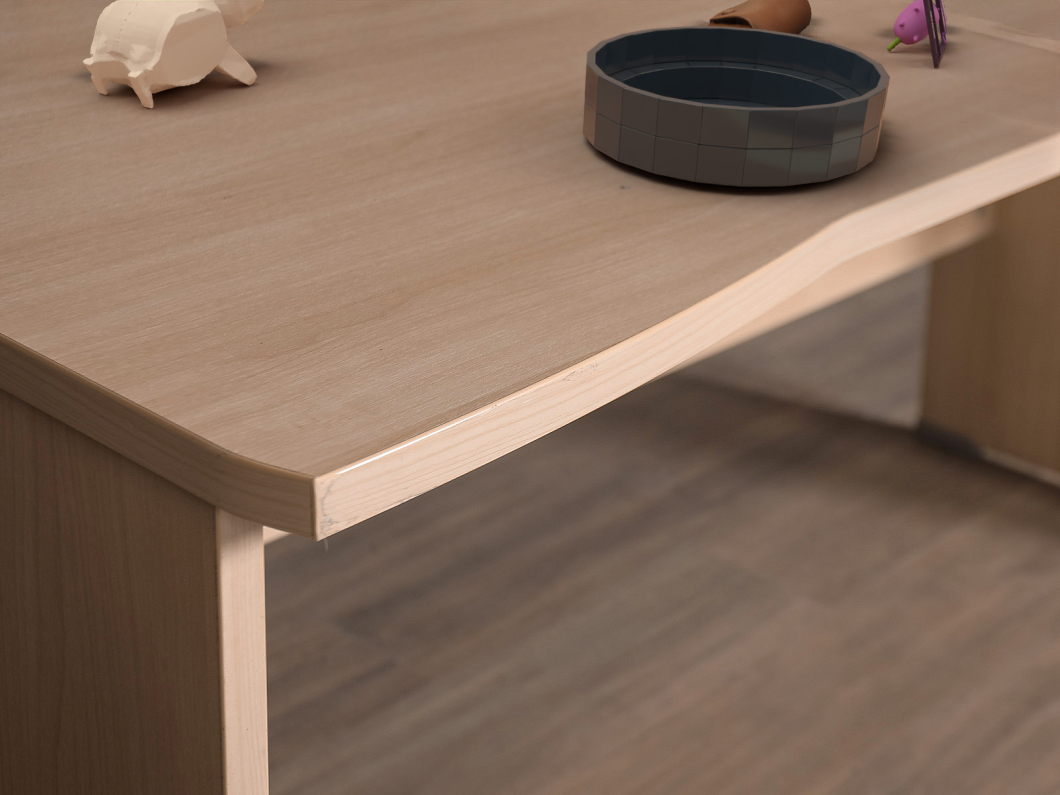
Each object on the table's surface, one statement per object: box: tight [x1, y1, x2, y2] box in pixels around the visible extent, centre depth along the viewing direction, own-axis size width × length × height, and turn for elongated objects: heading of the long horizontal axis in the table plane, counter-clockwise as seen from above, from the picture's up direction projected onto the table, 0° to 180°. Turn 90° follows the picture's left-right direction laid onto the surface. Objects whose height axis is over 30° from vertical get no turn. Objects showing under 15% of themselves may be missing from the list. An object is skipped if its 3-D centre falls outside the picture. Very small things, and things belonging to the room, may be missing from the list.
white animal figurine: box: [82, 0, 265, 109], centre depth 93 cm, size 9×8×15 cm
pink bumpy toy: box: [886, 0, 948, 69], centre depth 107 cm, size 7×5×9 cm
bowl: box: [582, 25, 891, 188], centre depth 85 cm, size 20×20×6 cm
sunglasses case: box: [707, 0, 813, 35], centre depth 105 cm, size 18×7×7 cm, turn 157°
